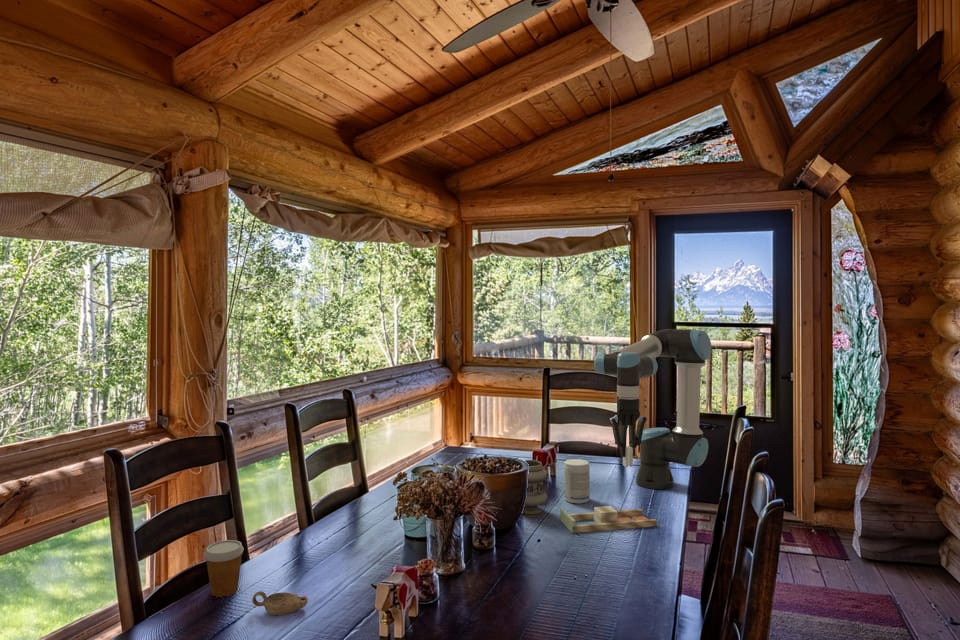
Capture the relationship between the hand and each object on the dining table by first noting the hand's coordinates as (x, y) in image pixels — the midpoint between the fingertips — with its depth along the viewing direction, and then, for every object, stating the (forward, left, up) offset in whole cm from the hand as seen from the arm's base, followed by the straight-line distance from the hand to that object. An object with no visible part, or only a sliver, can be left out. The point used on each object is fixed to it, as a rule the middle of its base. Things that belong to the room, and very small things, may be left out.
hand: (627, 465), depth 207 cm
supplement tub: (+9, -25, -20) cm, 33 cm away
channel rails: (+7, 0, -19) cm, 21 cm away
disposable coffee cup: (+125, +26, -20) cm, 129 cm away
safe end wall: (+22, 0, -19) cm, 29 cm away
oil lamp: (+110, +39, -20) cm, 118 cm away
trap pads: (-2, 0, -19) cm, 20 cm away
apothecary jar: (+30, -16, -20) cm, 39 cm away
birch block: (+8, 0, -20) cm, 21 cm away
